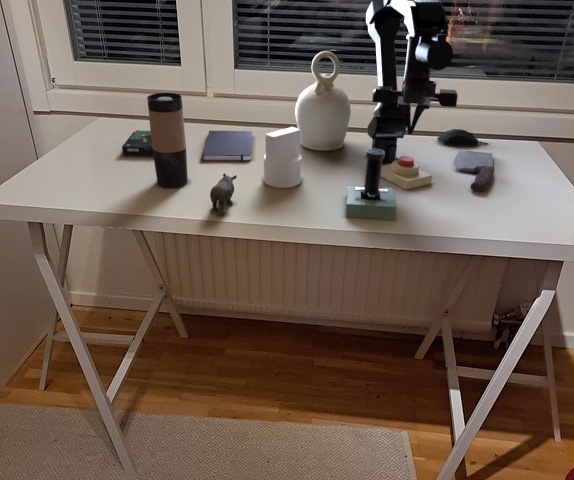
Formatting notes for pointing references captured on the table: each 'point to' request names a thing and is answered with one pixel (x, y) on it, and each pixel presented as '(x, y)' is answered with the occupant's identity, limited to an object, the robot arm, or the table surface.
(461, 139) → the gaming mouse
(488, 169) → the cleaver
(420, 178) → the panel
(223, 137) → the notebook
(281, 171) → the cylinder with rectangular tab
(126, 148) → the disk drive
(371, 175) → the black flanged tube
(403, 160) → the button
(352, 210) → the green square frame
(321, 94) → the white bell
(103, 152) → the table surface
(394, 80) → the robot arm
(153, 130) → the travel mug
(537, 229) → the table surface
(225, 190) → the rhino figurine
